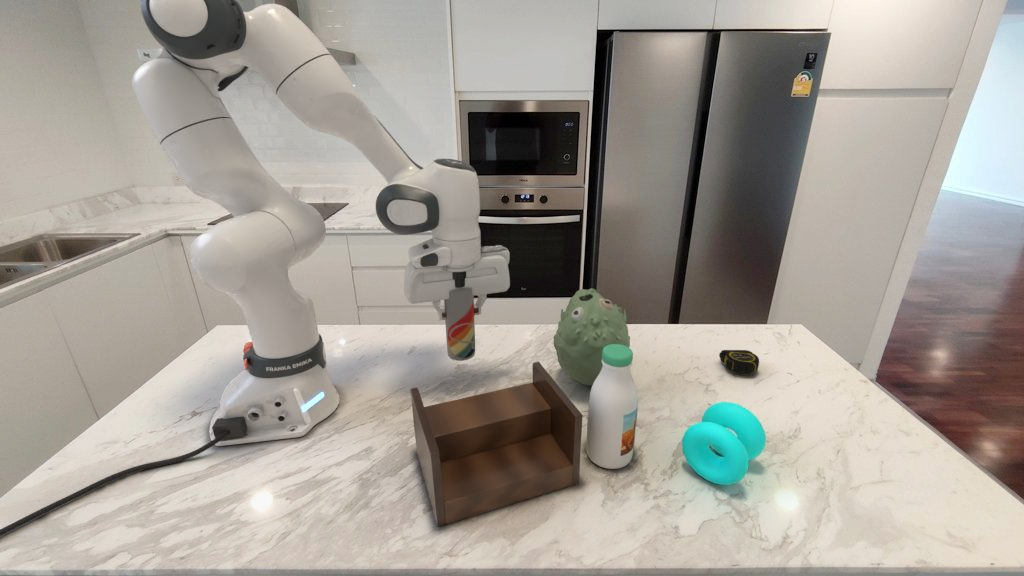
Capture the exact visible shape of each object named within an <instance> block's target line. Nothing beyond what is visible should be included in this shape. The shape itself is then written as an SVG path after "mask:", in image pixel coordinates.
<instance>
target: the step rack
mask: <svg viewBox="0 0 1024 576" xmlns="http://www.w3.org/2000/svg"><path fill="white" fill-rule="evenodd" d="M409 391H410V402H411V411H412V418H413V429H414V436H415V446H416V447H415V448H416V455H417V458H418V462H419V465H420V468H421V472H422V475H423V479H424V483H425V487H426V490H427V495H428V498H429V501H430V505H431V509H432V512H433V515H434V519H435V523H436V526H437V527H442V526H446V525H449V524H452V523H455V522H458V521H461V520H464V519H468V518H472V517H475V516H478V515H481V514H484V513H487V512H488V513H489V512H491V511H493V510H497V509H501V508H503V507H506V506H507V507H508V506H510V505H513V504H516V503H520V502H523V501H526V500H530V499H533V498H536V497H539V496H542V495H545V494H549V493H552V492H554V491H555V492H556V491H558V490H559V491H560V490H562V489H565V488H568V487H572V486H574V485H578V484H579V483H580V468H581V453H582V451H581V450H582V433H583V431H582V430H583V414H582V412H580V410H579V409H578V408H577V406H576V405H575V404H574V402H572V401H571V399H570V398H569V396H567V394H566V393H565V392H564V391H563V389H562V388H561V387H560V386H559V384H558V383H557V382H556V381H555V380H554V378H553V377H552V376H551V375H550V373H549V372H548V371H547V369H545V368H544V366H543V365H542V364H541V363H540V361H535V362H532V382H528V383H524V384H520V385H515V386H511V387H507V388H503V389H498V390H493V391H489V392H484V393H479V394H475V395H470V396H466V397H462V398H457V399H454V400H447V401H445V402H440V403H435V404H431V405H426V406H425V405H424V402H423V400H422V399H423V398H422V396H421V394H420V391H419V388H418V387H411V388H410V390H409Z"/></svg>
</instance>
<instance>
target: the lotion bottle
mask: <svg viewBox="0 0 1024 576" xmlns="http://www.w3.org/2000/svg"><path fill="white" fill-rule="evenodd" d="M452 277H453V280H455V288H458V289H454V290H451V291H449V299H446V300H443V302H444V303H443V304H444V308H445V311H446V312H447V316H446V317H447V319H446V320H444V322H445V333H446V334H445V336H446V337H445V339H446V349H447V350H446V352H447V356H448V357H449V358H450V359H451V360H453V361H456V362H457V361H458V362H462V361H467V360H470V359H472V358H473V357H474V356H475V355H476V327H475V326H476V325H475V324H476V323H475V315H474V304H475V299H474V298H475V296H473V294H472V288H460V287H464V286H465V278H466V271H464V272H452Z"/></svg>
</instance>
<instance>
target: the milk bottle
mask: <svg viewBox="0 0 1024 576" xmlns="http://www.w3.org/2000/svg"><path fill="white" fill-rule="evenodd" d="M633 359H634V353H633V350H632V349H631V348H630V347H629V348H628V347H627V346H624V345H620V344H611V345H607V346H605V347H604V348H603V351H602V364H603V367H602V369H601V371H600V373H599V375H598V377H597V378H596V380H595V381H594V383H593V385H591V389H590V392H589V401H588V409H587V410H588V411H587V426H586V443H585V445H586V446H585V451H586V455H587V456H588V458H589V459H590V461H591V462H592V463H594V464H595V465H596V466H599V467H600V468H604V469H609V470H614V469H615V470H616V469H622V468H624V467H626V466H627V465H628V464H630V462H631V461H632V460H633V455H634V446H635V439H636V430H637V429H636V427H637V418H638V409H639V408H638V405H639V404H638V403H639V394H638V390H637V386H636V383H635V381H634V378H633V376H632V372H631V367H632V366H633Z"/></svg>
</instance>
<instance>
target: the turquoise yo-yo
mask: <svg viewBox="0 0 1024 576" xmlns="http://www.w3.org/2000/svg"><path fill="white" fill-rule="evenodd" d="M766 442H767V436H766V431H765V428H764V426H763V424H762V423H761V421H760V420H759V419H758V417H757V416H756V415H755V414H754V413H753V412H751V410H749V409H747V408H746V407H744V406H743V405H740V404H739V403H735V402H729V401H720V402H716V403H713V404H711V405H710V406H708V407H707V409H705V411H704V412H703V414H702V417H701V421H699V422H695V423H694V424H691V425H690V426H688V427H687V429H686V430H685V432H684V433H683V436H682V438H681V447H682V453H683V456H684V458H685V460H686V462H687V463H688V466H690V467H691V468H692V469H693V471H694V472H695V473H697V475H699V476H700V477H701V478H703V479H705V480H706V481H707V482H708V481H709V482H711V483H713V484H715V485H721V486H729V485H734V484H736V483H739V482H741V480H743V479H744V478H745V476H746V475H747V473H748V470H749V467H750V461H752V460H754V459H756V458H758V457H759V456H760V455H761V454H762V453H763V452H764V449H765V447H766V444H767V443H766ZM710 447H711V448H712V449H713V450H714V451H715V452H716V453H718V454H719V455H718V454H716V453H715V452H714V451H713V450H712V449H711V448H710ZM720 455H721V456H720Z"/></svg>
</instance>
